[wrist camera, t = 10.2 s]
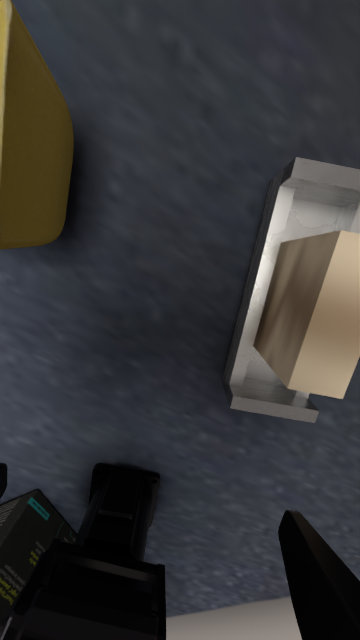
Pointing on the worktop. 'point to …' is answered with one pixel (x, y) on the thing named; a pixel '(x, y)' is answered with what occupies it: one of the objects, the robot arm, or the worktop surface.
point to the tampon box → (26, 541)
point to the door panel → (313, 313)
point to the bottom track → (276, 226)
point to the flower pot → (30, 140)
